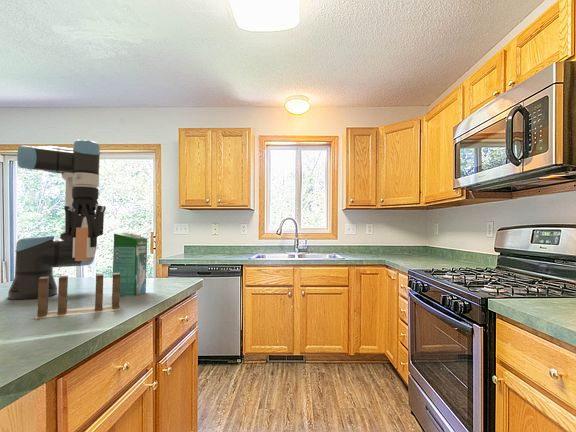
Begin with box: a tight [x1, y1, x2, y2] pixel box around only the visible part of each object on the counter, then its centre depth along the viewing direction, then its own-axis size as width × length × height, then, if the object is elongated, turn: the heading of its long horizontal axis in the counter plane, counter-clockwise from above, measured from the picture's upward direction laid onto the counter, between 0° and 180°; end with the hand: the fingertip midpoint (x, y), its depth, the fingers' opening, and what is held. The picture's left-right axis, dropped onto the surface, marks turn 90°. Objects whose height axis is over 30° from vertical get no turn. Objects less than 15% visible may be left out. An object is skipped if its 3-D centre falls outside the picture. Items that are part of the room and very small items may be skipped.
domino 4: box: [111, 272, 121, 309], centre depth 106 cm, size 4×2×11 cm, turn 31°
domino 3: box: [94, 273, 104, 311], centre depth 103 cm, size 4×2×11 cm, turn 31°
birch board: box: [33, 304, 122, 320], centre depth 101 cm, size 9×22×1 cm, turn 121°
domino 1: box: [36, 277, 49, 317], centre depth 96 cm, size 4×2×11 cm, turn 31°
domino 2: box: [57, 275, 69, 315], centre depth 98 cm, size 4×2×11 cm, turn 31°
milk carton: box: [112, 232, 148, 297], centre depth 128 cm, size 9×9×25 cm
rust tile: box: [75, 228, 92, 261], centre depth 107 cm, size 4×2×11 cm, turn 83°
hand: (83, 257), depth 107 cm, fingers closed on rust tile, 4 cm apart
